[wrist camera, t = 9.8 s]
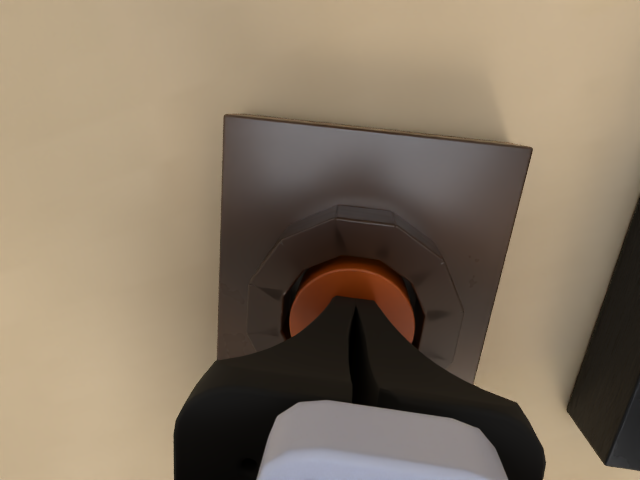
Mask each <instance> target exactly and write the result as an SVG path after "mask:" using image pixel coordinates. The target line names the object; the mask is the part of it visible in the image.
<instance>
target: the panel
mask: <svg viewBox="0 0 640 480" xmlns="http://www.w3.org/2000/svg"><path fill="white" fill-rule="evenodd" d="M567 412H568V413H569V415H570V416H571V418H572V419H573V421H574V422H575V423H576V425H577V426H578V428H579V429H580V431H581V432H582V433H583V435H584V436H585V438H586V439H587V441H588V442H589V444H590V445H591V446H592V448H593V449H594V451H595V452H596V454H597V455H598V456H599V458H600V459H601V461H602V462H603V464H604V465H606V466H611V467H617V468H624V469H631V470H637V471H640V198H639V201H638V204H637V207H636V210H635V213H634V216H633V219H632V222H631V224H630V227H629V230H628V233H627V236H626V239H625V242H624V245H623V248H622V251H621V253H620V256H619V259H618V262H617V265H616V268H615V271H614V274H613V277H612V280H611V283H610V285H609V288H608V291H607V294H606V297H605V300H604V303H603V306H602V309H601V312H600V315H599V317H598V320H597V323H596V326H595V329H594V332H593V335H592V338H591V341H590V344H589V347H588V349H587V352H586V355H585V358H584V361H583V364H582V367H581V370H580V373H579V376H578V379H577V381H576V384H575V387H574V390H573V393H572V396H571V399H570V402H569V405H568V408H567Z"/></svg>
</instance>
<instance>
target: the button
mask: <svg viewBox="0 0 640 480" xmlns="http://www.w3.org/2000/svg"><path fill="white" fill-rule="evenodd" d="M335 296H343V297H351V298H358V299H366V300H373V301H375V302H376V304H377V305H378V306H379V308H380V309H381V310H382V312H383V313H384V314H385V316H386V317H387V318H388V320H389V321H390V322H391V323H392V324H393V325H394V327H395V328H396V329H397V330H398V331H399V332H400V333H401V334H402V335H403V336H404V337H405V338H406V339H407V340H408V341H409V342H410V343H412V341H413V337H414V331H415V319H414V313H413V309H412V306H411V302H410V298H409V295H408V291H407V288H406V285H405V283H404V281H403V279H402V277H401V276H400V275H399V274H398V273H397V272H395V271H394V270H393V269H391V268H390V267H388V266H387V265H386V264H384V263H383V262H382V261H380V260H376V259H368V258H360V257H352V256H344V255H341V256H338V257H336V258H333V259H331V260H328V261H326V262H323V263H320V264H318V265H315V266H313V267H310V269H309V270H308V271H307V272H306V273H305V275H304V276H303V278H302V280H301V282H300V284H299V287H298V290H297V293H296V296H295V299H294V301H293V304H292V307H291V311H290V317H289V327H290V333H291V337H293V336H295V335H296V334H298V333H299V332H300V331H302V330H303V329H304V328H305V327H307V326H308V325H309V324H310V323H311V322H312V321H314V320H315V319H316V318H317V317H318V316H319V315H320V314H321V313H322V311H323V310H324V309H325V308H326V307H327V306H328V304H329V303H330V302H331V300H332V298H333V297H335Z"/></svg>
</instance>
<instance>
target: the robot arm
mask: <svg viewBox="0 0 640 480" xmlns="http://www.w3.org/2000/svg"><path fill="white" fill-rule="evenodd" d="M545 465H546V461H545V455H544V450H543V447H542V445H541V443H540V441H539V440H538V438H537V436H536V434H535V432H534V430H533V428H532V426H531V424H530V422H529V420H528V419H527V417H526V416H525V414H524V413H523V411H522V409H521V408H520V406H519V405H518V403H516V402H513V401H511V400H508V399H506V398H503V397H500V396H498V395H495V394H493V393H490V392H488V391H485V390H483V389H481V388H479V387H477V386H475V385H472V384H470V383H468V382H466V381H464V380H462V379H461V378H459V377H457V376H455V375H453V374H452V373H450V372H449V371H447V370H445V369H444V368H442V367H441V366H439V365H437V364H436V363H435V362H433V361H432V360H430V359H429V358H428V357H426V356H425V355H424V354H423V353H421V352H420V351H419V350H418V349H416V348H415V347H414V346H413V345H412V344H411V343H410V342H409V341H408V340H407V339H406V338H405V337H404V336H403V335H402V334H401V333H400V332H399V331H398V330H397V329H396V328H395V327H394V325H393V324H392V323H391V322H390V321H389V320H388V318H387V317H386V316H385V314H384V313H383V312H382V310H381V309H380V308H379V306H378V305H377V304H376V302H375V301H373V300H366V299H358V298H351V297H343V296H335V297H333V298H332V300H331V302H330V303H329V304H328V306H327V307H326V308H325V309H324V310H323V311H322V313H321V314H320V315H319V316H318V317H317V318H316V319H315V320H314V321H312V322H311V323H310V324H309V325H308V326H307V327H305V328H304V329H303V330H302V331H300V332H299V333H298V334H296V335H295V336H293V337H291V338H290V339H288V340H286V341H284V342H281V343H279V344H277V345H275V346H273V347H271V348H268V349H265V350H262V351H259V352H256V353H252V354H249V355H245V356H240V357H234V358H228V359H223V360H216V361H215V362H214V363H213V365H212V366H211V367H210V368H209V370H208V371H207V372H206V373H205V374H204V375H203V377H202V378H201V379H200V380H199V382H198V383H197V384H196V386H195V387H194V389H193V391H192V392H191V394H190V396H189V397H188V399H187V401H186V402H185V404H184V406H183V408H182V410H181V411H180V413H179V415H178V417H177V419H176V422H175V429H174V480H543V477H544V471H545Z"/></svg>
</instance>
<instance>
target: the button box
mask: <svg viewBox="0 0 640 480" xmlns="http://www.w3.org/2000/svg"><path fill="white" fill-rule="evenodd" d="M532 151H533V148H532V147H528V146H523V145H518V144H513V143H508V142H498V141H489V140H480V139H470V138H461V137H452V136H443V135H433V134H424V133H415V132H405V131H396V130H387V129H377V128H368V127H359V126H350V125H340V124H331V123H322V122H312V121H303V120H294V119H284V118H275V117H266V116H256V115H247V114H225V115H224V124H223V160H222V195H221V231H220V267H219V303H218V339H217V360H223V359H228V358H234V357H240V356H245V355H249V354H252V353H256V352H259V351H262V350H265V349H268V348H271V347H273V346H275V345H277V344H279V343H281V342H284V341H286V340H288V339H290V338H291V333H290V327H289V317H290V311H291V307H292V304H293V301H294V299H295V296H296V293H297V290H298V287H299V284H300V282H301V280H302V278H303V276H304V275H305V273H306V272H307V271H308V270H309V269H310V267H313V266H315V265H318V264H320V263H323V262H326V261H328V260H331V259H333V258H336V257H338V256H341V255H344V256H352V257H360V258H368V259H376V260H380V261H382V262H383V263H384V264H386V265H387V266H388V267H390V268H391V269H393V270H394V271H395V272H397V273H398V274H399V275H400V276H401V277H402V279H403V281H404V283H405V285H406V288H407V291H408V295H409V298H410V302H411V306H412V309H413V313H414V319H415V331H414V337H413V341H412V343H411V344H412V345H413V346H414V347H415V348H416V349H418V350H419V351H420V352H421V353H423V354H424V355H425V356H426V357H428V358H429V359H430V360H432V361H433V362H435V363H436V364H437V365H439V366H441V367H442V368H444V369H445V370H447V371H449V372H450V373H452V374H453V375H455V376H457V377H459V378H461V379H462V380H464V381H466V382H468V383H470V384H472V385H473V383H474V379H475V375H476V371H477V368H478V364H479V360H480V356H481V352H482V348H483V344H484V340H485V336H486V332H487V328H488V324H489V320H490V316H491V312H492V308H493V305H494V301H495V297H496V293H497V289H498V285H499V281H500V277H501V273H502V269H503V265H504V261H505V257H506V253H507V249H508V245H509V241H510V238H511V234H512V230H513V226H514V222H515V218H516V214H517V210H518V206H519V202H520V198H521V194H522V190H523V186H524V182H525V178H526V175H527V171H528V167H529V163H530V159H531V155H532Z"/></svg>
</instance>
